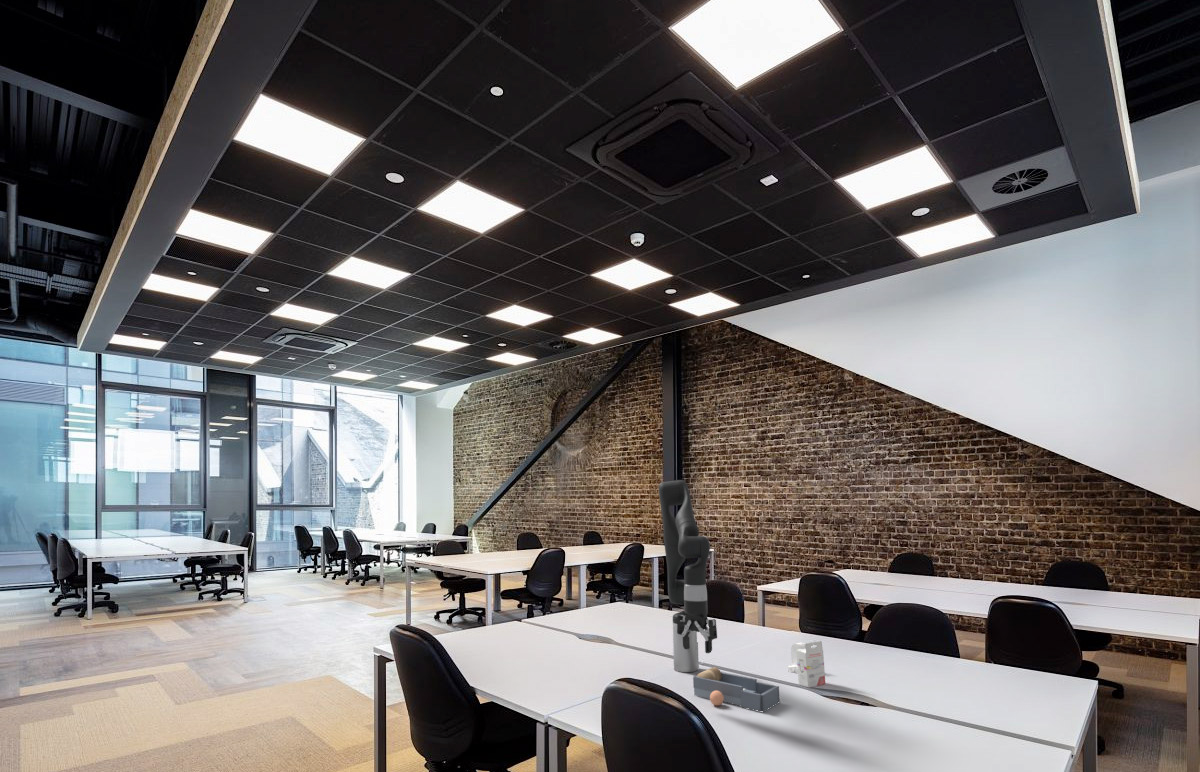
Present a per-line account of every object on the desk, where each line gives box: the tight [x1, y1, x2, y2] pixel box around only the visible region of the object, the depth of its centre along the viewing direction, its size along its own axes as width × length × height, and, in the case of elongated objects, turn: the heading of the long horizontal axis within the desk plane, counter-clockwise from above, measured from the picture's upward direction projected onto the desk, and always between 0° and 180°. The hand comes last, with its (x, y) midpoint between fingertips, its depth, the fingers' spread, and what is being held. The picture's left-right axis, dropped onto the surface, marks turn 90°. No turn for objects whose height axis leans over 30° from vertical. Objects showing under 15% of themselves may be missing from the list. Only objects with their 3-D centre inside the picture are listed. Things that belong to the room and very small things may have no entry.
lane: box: [692, 671, 781, 712], centre depth 209 cm, size 12×26×6 cm, turn 50°
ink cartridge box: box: [796, 640, 826, 689], centre depth 225 cm, size 9×5×15 cm, turn 117°
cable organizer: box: [787, 642, 806, 675], centre depth 241 cm, size 5×10×10 cm, turn 132°
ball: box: [709, 691, 724, 707], centre depth 203 cm, size 4×4×4 cm
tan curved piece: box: [696, 666, 722, 681], centre depth 215 cm, size 9×5×5 cm, turn 140°
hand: (697, 650), depth 204 cm, fingers open, 8 cm apart
